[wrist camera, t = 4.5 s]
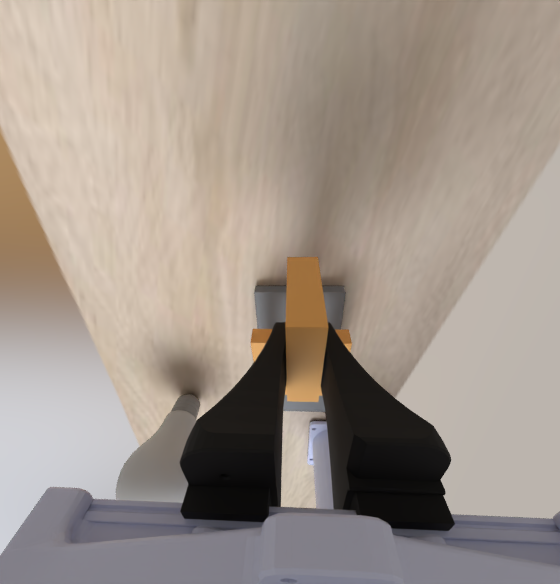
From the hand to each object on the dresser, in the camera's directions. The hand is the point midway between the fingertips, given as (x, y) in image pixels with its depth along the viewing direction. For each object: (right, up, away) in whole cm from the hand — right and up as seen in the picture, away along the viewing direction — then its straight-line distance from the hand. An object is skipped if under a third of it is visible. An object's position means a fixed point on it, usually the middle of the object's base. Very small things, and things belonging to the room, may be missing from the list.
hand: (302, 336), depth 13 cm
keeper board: (+1, -4, +11) cm, 11 cm away
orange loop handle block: (0, 0, +4) cm, 4 cm away
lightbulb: (-11, -9, +15) cm, 21 cm away
